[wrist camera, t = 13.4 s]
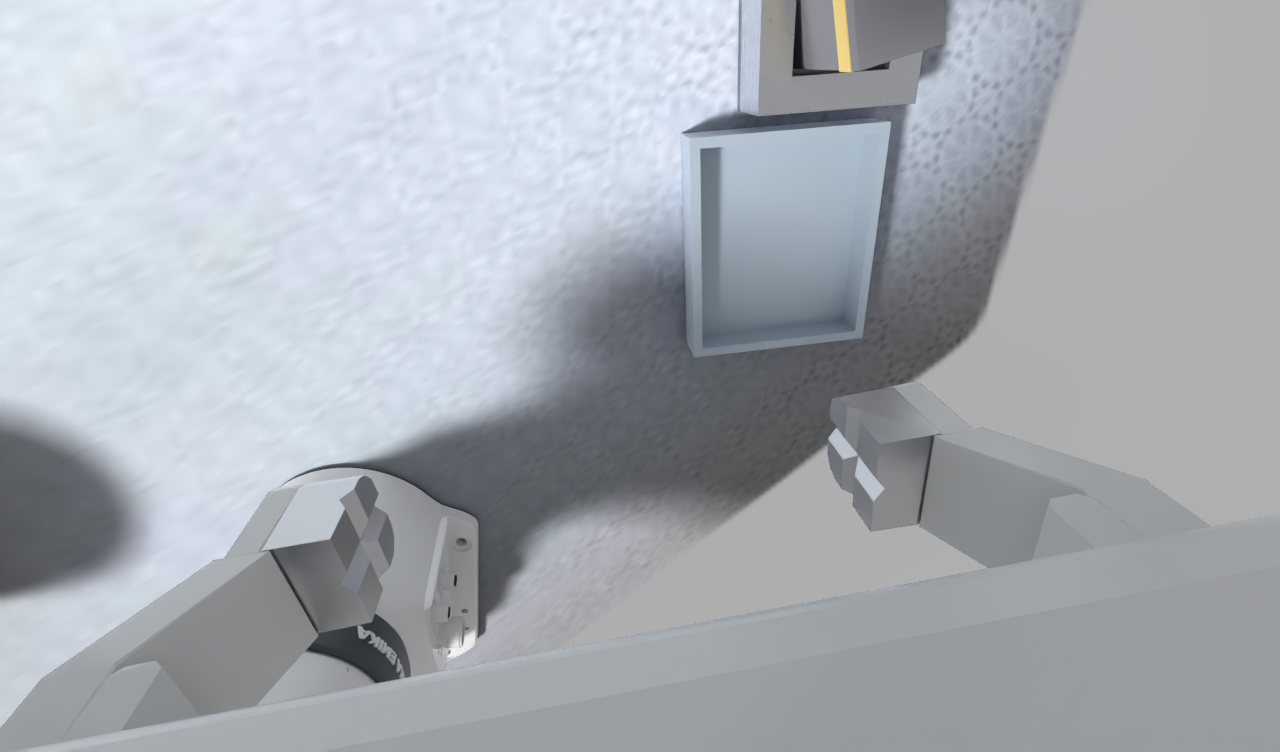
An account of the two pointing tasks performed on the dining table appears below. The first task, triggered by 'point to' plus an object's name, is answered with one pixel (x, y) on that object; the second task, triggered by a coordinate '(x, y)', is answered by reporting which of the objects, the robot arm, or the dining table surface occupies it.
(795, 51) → the plug
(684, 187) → the tray
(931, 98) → the dining table surface
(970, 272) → the dining table surface
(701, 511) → the dining table surface
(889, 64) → the double slot holder
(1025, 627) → the robot arm
